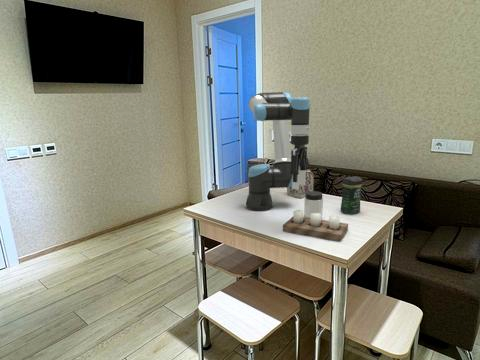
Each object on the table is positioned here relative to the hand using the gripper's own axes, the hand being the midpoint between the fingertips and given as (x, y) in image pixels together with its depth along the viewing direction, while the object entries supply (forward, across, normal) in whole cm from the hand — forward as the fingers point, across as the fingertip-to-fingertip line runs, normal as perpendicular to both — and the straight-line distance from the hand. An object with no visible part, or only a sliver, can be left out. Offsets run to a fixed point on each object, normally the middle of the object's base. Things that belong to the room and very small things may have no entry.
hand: (298, 186), depth 140 cm
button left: (+17, 0, 0) cm, 17 cm away
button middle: (+17, 0, -8) cm, 18 cm away
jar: (+19, +18, -2) cm, 27 cm away
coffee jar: (+19, +33, -16) cm, 42 cm away
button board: (+19, 0, -8) cm, 21 cm away
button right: (+17, 0, -16) cm, 23 cm away
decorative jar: (+20, +52, +18) cm, 58 cm away
